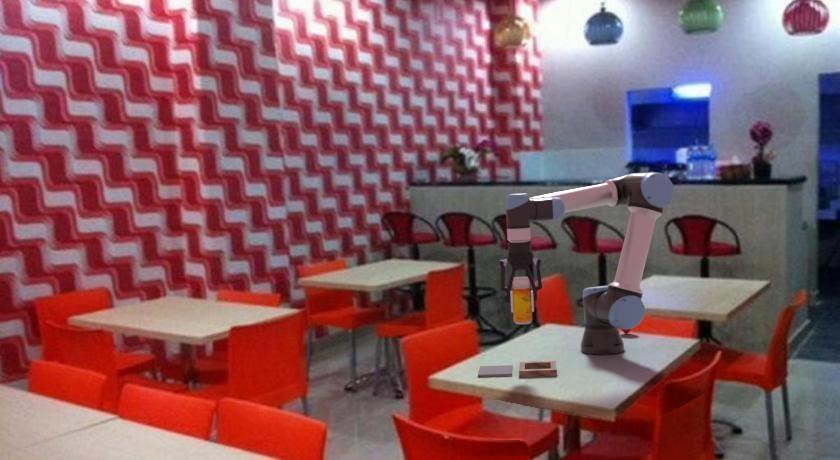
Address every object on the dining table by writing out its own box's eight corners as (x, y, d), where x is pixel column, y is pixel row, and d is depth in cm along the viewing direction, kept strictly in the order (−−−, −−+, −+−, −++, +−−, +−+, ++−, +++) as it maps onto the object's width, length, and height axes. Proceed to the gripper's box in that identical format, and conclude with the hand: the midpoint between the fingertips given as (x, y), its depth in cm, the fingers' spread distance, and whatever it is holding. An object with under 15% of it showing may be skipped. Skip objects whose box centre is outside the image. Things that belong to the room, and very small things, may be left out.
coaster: (512, 367, 262) (512, 365, 262) (511, 376, 251) (511, 373, 251) (480, 368, 264) (480, 366, 264) (477, 377, 253) (477, 374, 253)
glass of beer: (532, 324, 250) (529, 278, 249) (513, 324, 251) (510, 279, 250) (532, 321, 256) (530, 276, 255) (514, 321, 257) (512, 276, 256)
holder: (556, 366, 259) (555, 360, 259) (557, 375, 248) (556, 369, 247) (520, 367, 261) (519, 361, 261) (519, 377, 249) (519, 371, 249)
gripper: (548, 238, 254) (551, 308, 256) (490, 241, 257) (494, 310, 258) (549, 240, 247) (552, 312, 249) (489, 243, 249) (493, 314, 251)
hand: (522, 311), depth 253 cm, fingers closed on glass of beer, 6 cm apart
